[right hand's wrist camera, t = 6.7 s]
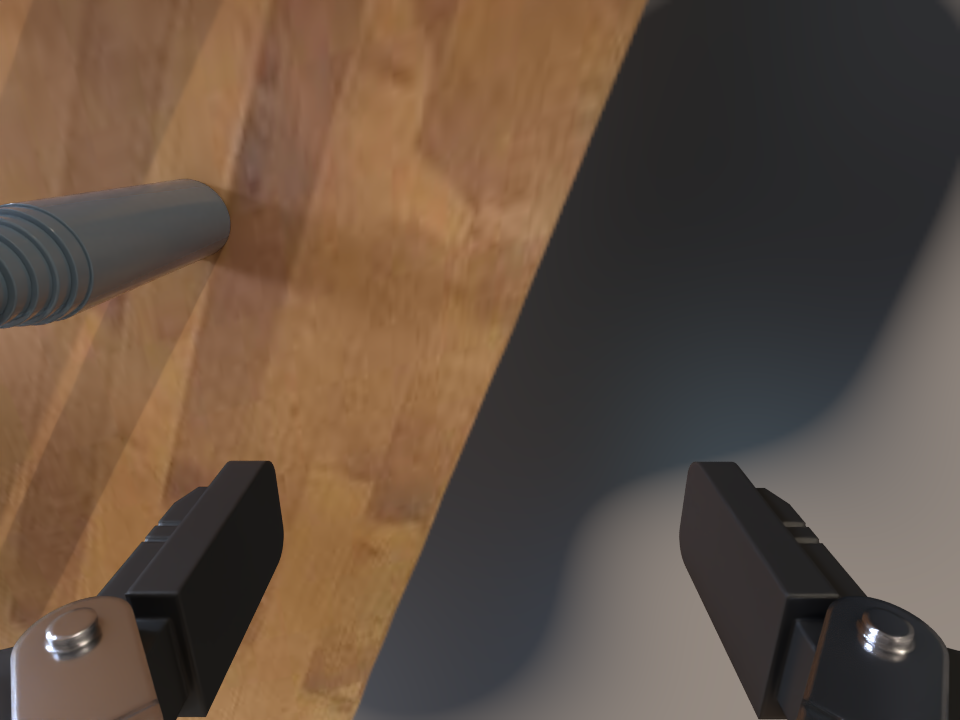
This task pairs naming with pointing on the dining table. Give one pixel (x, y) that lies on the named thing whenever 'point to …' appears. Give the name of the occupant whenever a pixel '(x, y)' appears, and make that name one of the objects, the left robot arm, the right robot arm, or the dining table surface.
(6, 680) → the right robot arm
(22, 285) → the bottle
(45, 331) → the dining table surface
